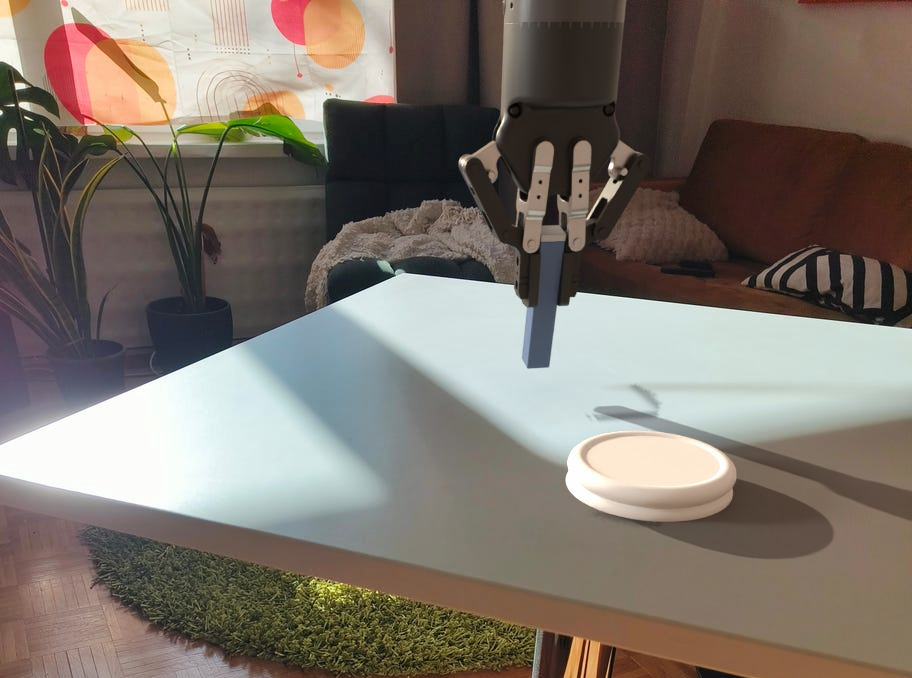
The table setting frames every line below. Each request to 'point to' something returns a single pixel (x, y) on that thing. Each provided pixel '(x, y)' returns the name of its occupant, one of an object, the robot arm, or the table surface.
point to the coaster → (651, 476)
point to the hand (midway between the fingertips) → (545, 303)
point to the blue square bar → (544, 300)
